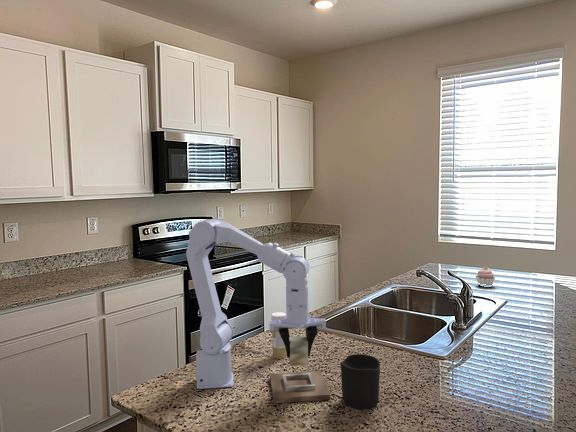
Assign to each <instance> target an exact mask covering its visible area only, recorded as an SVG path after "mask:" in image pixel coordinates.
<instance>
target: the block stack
mask: <svg viewBox="0 0 576 432" xmlns="http://www.w3.org/2000/svg"><path fill="white" fill-rule="evenodd" d="M289 348H290V358H288V361H289V362H288V363H289V366H290V367H296V366H308V365H309V356H308V341H307V339H306V335H297V336H289Z"/></svg>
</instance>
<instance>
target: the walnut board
mask: <svg viewBox="0 0 576 432" xmlns="http://www.w3.org/2000/svg"><path fill="white" fill-rule="evenodd" d="M269 381H270V388H271V392H272V399H273V404H284V403H285V404H286V403H295V402H299V403H300V402H311V401H312V402H313V401H326V400H331V392H330V390H329V388H328V386H327V383H326V381H325V379H324V377H323V374H322V371H321V370H316V371H315V370H313V371H299V372H297V371H296V372H283V373H282V372H281V373H270V374H269Z"/></svg>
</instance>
